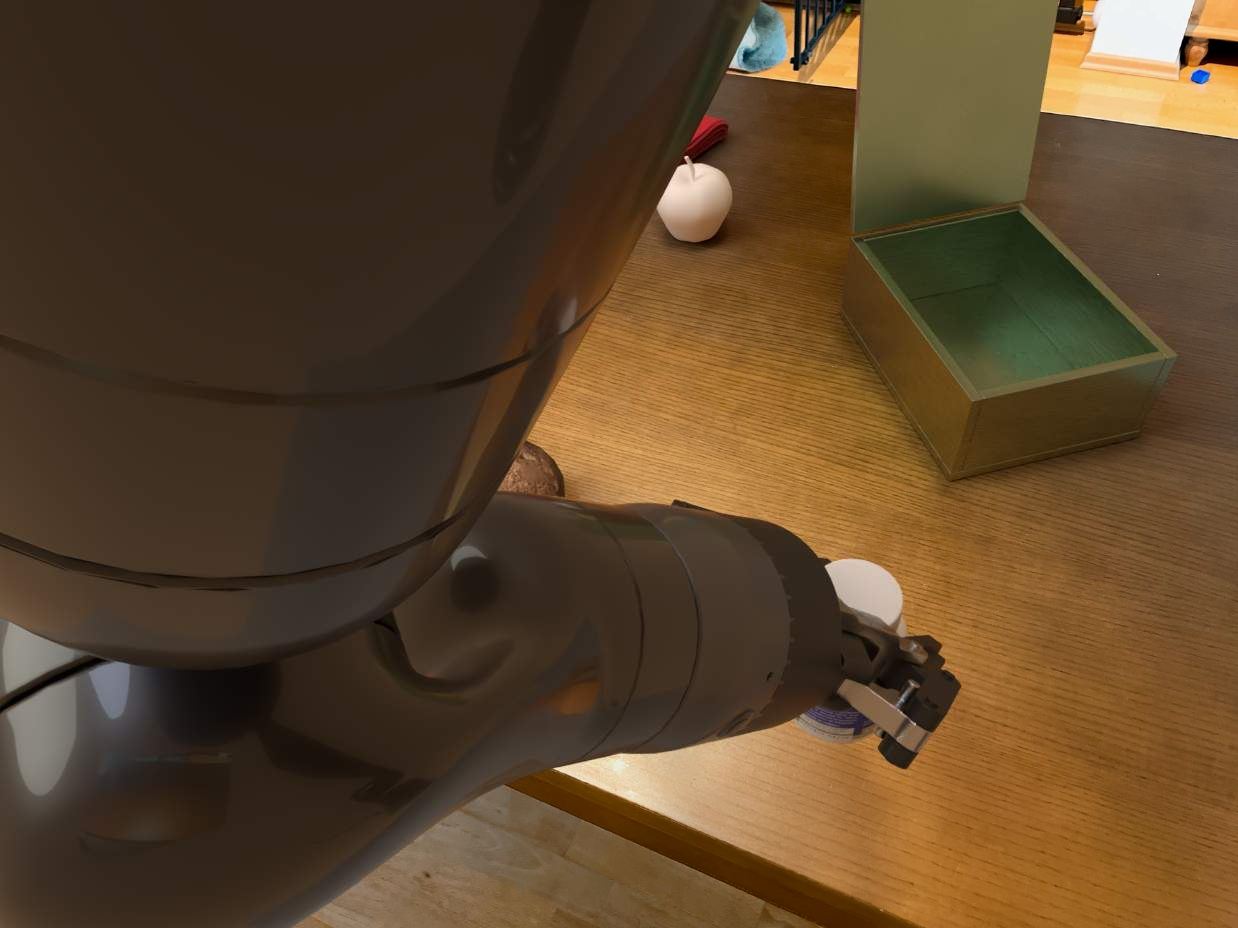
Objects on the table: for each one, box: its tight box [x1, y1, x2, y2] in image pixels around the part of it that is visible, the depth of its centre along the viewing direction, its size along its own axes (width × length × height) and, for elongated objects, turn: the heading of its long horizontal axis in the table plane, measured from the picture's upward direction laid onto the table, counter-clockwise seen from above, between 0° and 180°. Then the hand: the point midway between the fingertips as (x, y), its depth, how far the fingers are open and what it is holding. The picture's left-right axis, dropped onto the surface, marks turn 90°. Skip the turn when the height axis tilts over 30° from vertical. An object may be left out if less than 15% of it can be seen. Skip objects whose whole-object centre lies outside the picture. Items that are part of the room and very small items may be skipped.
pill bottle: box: [792, 558, 909, 745], centre depth 43 cm, size 5×5×9 cm
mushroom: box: [497, 440, 566, 498], centre depth 63 cm, size 8×8×6 cm
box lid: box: [849, 0, 1060, 234], centre depth 68 cm, size 20×15×4 cm
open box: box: [839, 202, 1179, 482], centre depth 69 cm, size 20×15×8 cm
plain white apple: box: [656, 156, 733, 243], centre depth 85 cm, size 7×7×8 cm
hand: (871, 618), depth 43 cm, fingers closed on pill bottle, 5 cm apart
